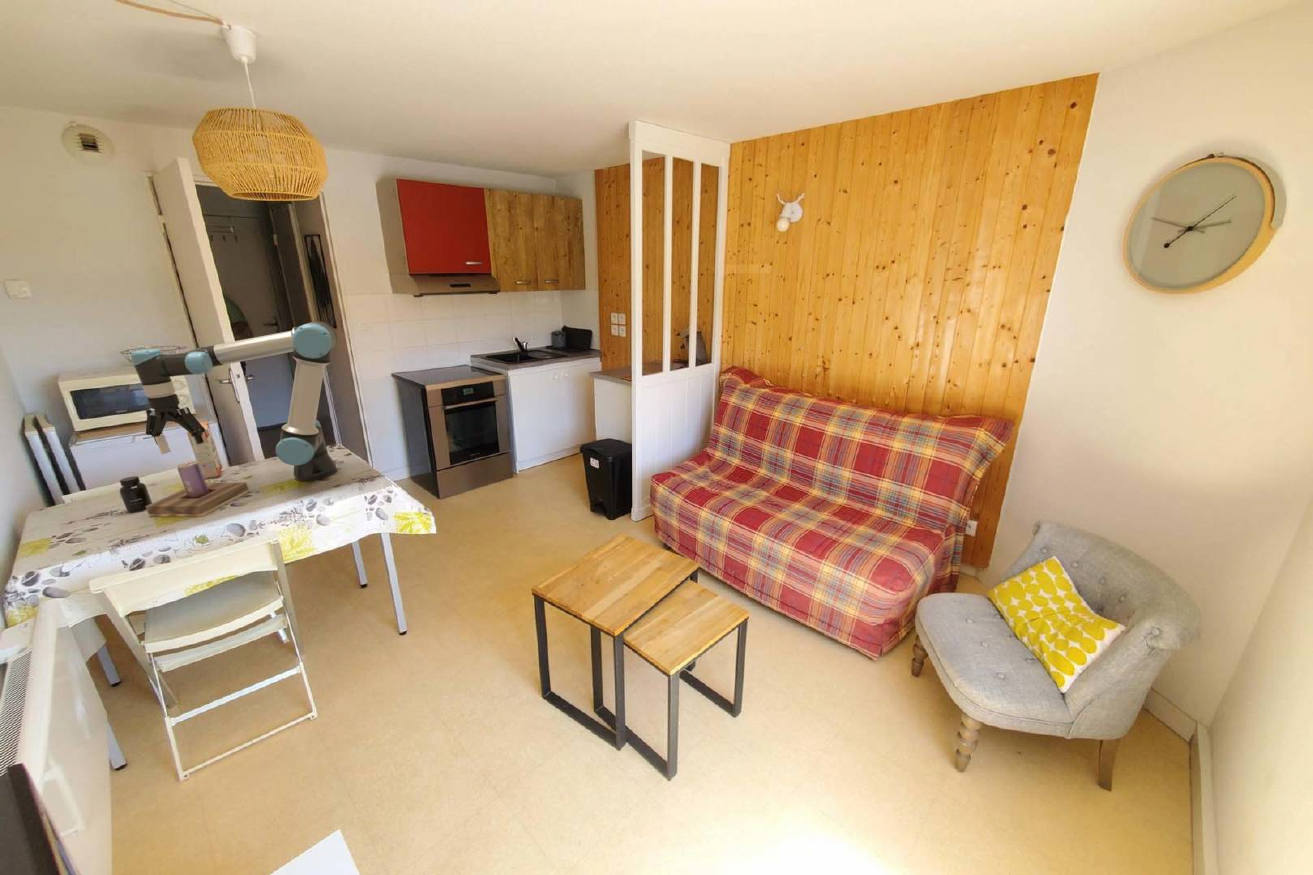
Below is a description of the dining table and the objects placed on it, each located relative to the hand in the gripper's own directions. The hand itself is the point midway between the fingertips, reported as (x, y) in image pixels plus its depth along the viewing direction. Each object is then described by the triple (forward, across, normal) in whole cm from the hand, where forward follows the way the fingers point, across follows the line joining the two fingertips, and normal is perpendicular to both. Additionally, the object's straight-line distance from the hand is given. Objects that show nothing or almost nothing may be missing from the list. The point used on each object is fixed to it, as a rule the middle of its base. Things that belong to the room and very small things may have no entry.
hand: (183, 452), depth 180 cm
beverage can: (+19, 0, 0) cm, 19 cm away
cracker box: (+20, +23, -29) cm, 42 cm away
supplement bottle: (+20, +21, +4) cm, 29 cm away
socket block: (+20, 0, 0) cm, 20 cm away
